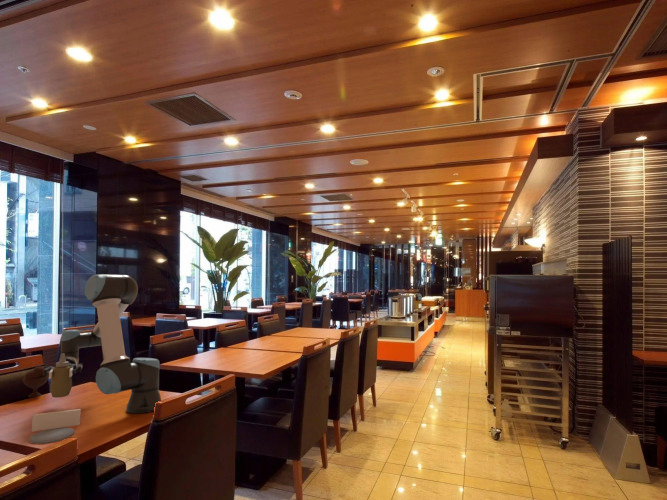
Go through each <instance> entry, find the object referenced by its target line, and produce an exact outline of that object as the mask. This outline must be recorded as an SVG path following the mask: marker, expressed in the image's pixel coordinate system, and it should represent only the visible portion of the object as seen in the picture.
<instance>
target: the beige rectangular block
mask: <svg viewBox="0 0 667 500" xmlns="http://www.w3.org/2000/svg"><path fill="white" fill-rule="evenodd" d="M81 410H82V409H81V408H76V409H74V408H73V409H68V410H60V411H59V410H58V411H50V412H44V413H43V412H42V413H35V414H33V415H32V421H31V422H32V424H31V432H40V431H45V430H49V429H55V428H69V427H74V426H80V424H81V413H82V411H81Z"/></svg>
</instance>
